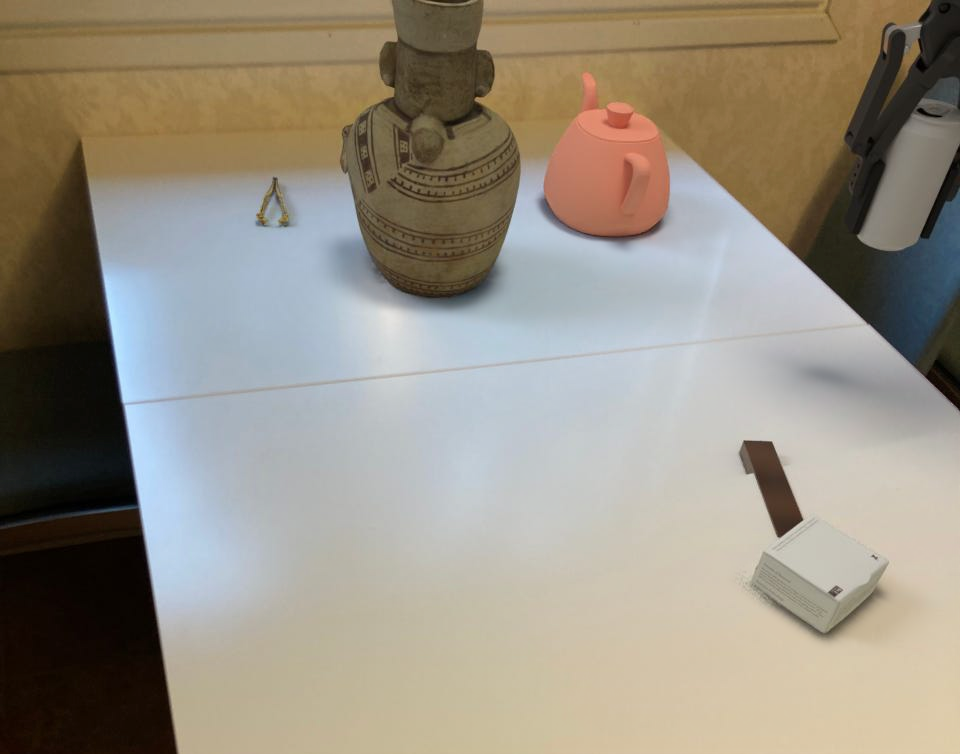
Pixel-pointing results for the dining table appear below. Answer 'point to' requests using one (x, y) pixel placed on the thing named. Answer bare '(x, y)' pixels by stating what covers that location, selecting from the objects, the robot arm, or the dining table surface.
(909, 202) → the beverage can
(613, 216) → the teapot
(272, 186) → the tongs
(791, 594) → the small box
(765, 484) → the walnut slat
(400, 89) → the ceramic vessel
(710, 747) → the dining table surface
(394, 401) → the dining table surface
